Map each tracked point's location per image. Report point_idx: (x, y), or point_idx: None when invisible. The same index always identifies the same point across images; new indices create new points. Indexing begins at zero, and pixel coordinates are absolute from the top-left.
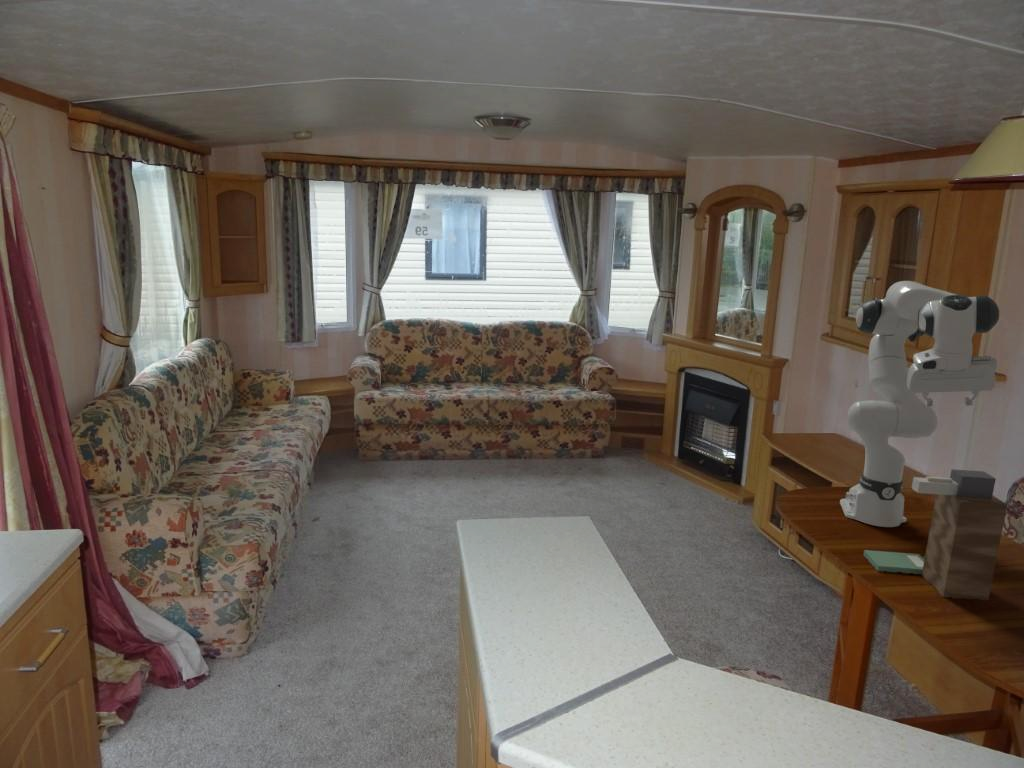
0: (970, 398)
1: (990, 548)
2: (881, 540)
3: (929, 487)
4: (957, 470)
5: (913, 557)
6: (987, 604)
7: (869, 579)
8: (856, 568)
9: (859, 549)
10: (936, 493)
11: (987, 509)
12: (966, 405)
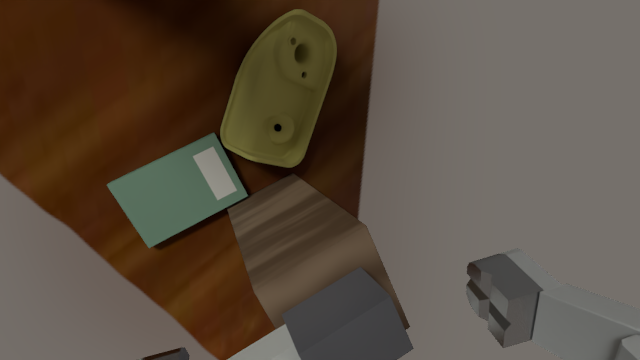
0: (544, 337)
1: None
2: (130, 68)
3: None
4: (316, 352)
5: (206, 159)
6: None
7: (143, 290)
8: (110, 259)
9: (94, 156)
10: None
11: None
12: (470, 291)
